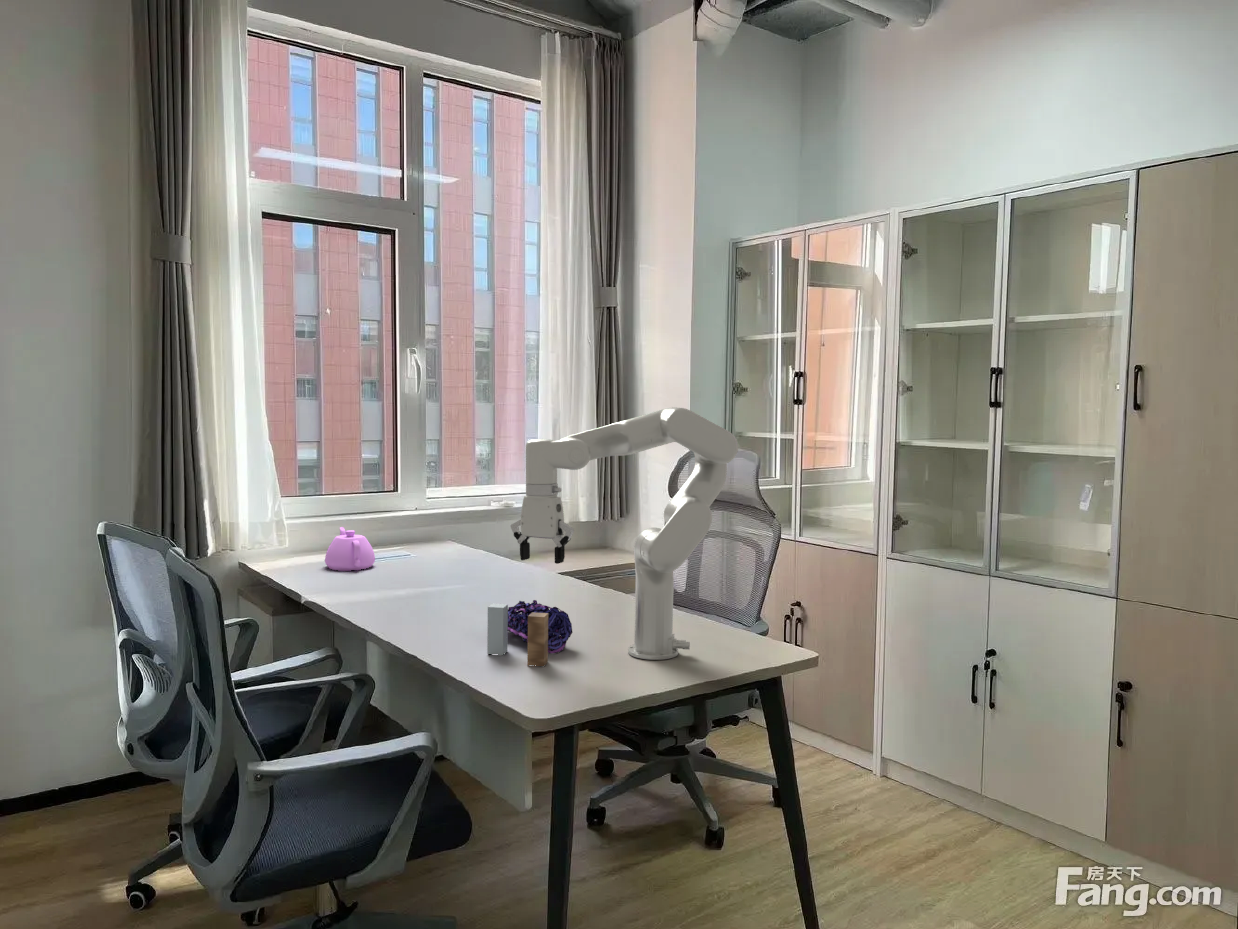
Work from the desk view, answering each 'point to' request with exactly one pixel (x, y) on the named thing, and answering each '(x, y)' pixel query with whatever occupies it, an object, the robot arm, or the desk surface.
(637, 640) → the robot arm
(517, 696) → the desk surface
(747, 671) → the desk surface
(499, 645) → the grey block
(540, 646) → the walnut block
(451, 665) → the desk surface
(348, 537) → the teapot
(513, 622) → the decorative ornament
